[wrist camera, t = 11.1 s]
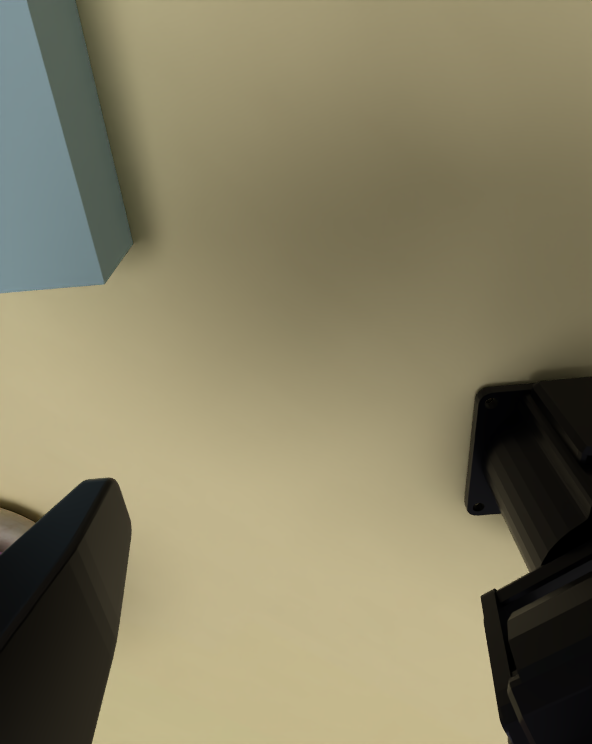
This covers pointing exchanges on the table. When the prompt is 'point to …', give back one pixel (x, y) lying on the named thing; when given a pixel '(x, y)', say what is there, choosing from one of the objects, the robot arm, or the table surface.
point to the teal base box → (54, 155)
